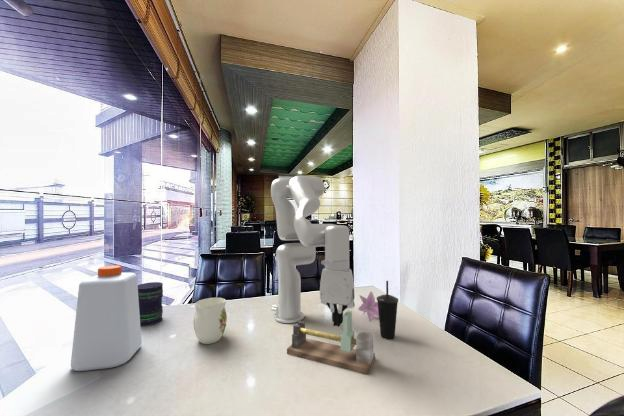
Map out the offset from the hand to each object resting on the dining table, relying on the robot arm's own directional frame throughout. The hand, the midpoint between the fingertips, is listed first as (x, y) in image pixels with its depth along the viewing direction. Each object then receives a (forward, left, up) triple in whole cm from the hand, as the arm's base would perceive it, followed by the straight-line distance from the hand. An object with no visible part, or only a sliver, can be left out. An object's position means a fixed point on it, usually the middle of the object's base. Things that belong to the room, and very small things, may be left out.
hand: (337, 324), depth 82 cm
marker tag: (+3, 0, -6) cm, 7 cm away
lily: (+2, +36, -10) cm, 38 cm away
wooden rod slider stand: (-3, 0, -10) cm, 11 cm away
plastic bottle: (-65, -30, -10) cm, 72 cm away
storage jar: (-81, -7, -10) cm, 81 cm away
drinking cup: (+11, +21, -10) cm, 26 cm away
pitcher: (-46, -7, -10) cm, 47 cm away
